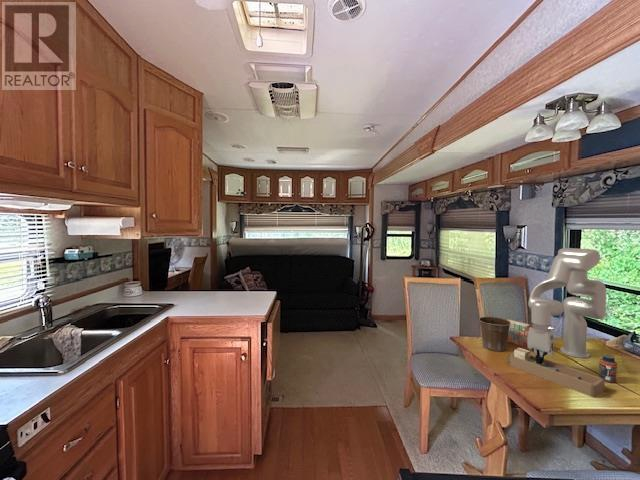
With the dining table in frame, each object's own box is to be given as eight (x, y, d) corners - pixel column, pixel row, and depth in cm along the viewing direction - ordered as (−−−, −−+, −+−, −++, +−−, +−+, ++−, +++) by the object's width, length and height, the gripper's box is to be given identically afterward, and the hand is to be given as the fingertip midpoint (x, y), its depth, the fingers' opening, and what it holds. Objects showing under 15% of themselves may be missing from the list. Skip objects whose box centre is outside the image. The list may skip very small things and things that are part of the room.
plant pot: (472, 342, 184) (472, 316, 183) (496, 341, 186) (497, 315, 185) (490, 354, 168) (490, 325, 167) (516, 352, 170) (517, 324, 169)
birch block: (518, 357, 157) (519, 347, 157) (529, 360, 153) (529, 351, 153) (513, 359, 155) (514, 349, 154) (524, 363, 150) (524, 353, 150)
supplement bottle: (612, 384, 136) (613, 360, 135) (595, 378, 141) (596, 354, 140) (619, 381, 138) (620, 357, 137) (602, 375, 143) (603, 352, 143)
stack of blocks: (547, 350, 173) (547, 329, 172) (541, 352, 170) (542, 331, 169) (508, 338, 191) (509, 319, 191) (502, 340, 188) (503, 320, 188)
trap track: (519, 359, 161) (519, 350, 160) (604, 390, 131) (604, 379, 131) (507, 364, 155) (508, 355, 155) (594, 397, 125) (594, 386, 125)
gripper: (562, 329, 142) (561, 367, 143) (527, 321, 155) (526, 355, 156) (555, 332, 138) (553, 371, 139) (520, 323, 151) (519, 359, 152)
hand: (539, 363), depth 148 cm, fingers closed
